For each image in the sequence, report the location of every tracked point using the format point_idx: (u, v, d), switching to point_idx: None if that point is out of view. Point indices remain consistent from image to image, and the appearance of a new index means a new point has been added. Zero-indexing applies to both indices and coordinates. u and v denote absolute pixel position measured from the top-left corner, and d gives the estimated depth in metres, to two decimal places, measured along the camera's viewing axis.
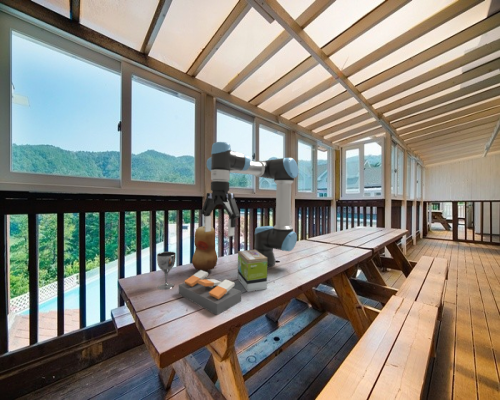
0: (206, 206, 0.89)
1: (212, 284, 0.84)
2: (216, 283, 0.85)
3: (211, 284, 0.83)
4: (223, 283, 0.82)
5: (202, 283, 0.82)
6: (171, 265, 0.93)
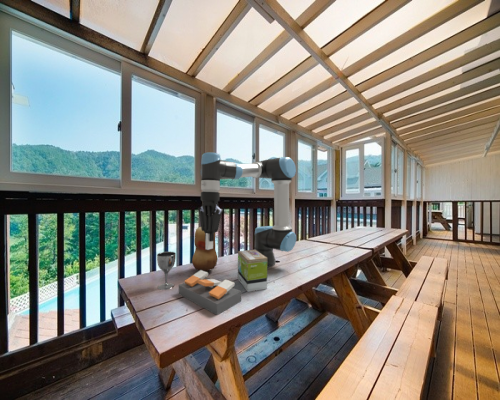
0: (203, 220, 0.87)
1: (212, 284, 0.84)
2: (216, 283, 0.85)
3: (211, 284, 0.83)
4: (223, 283, 0.82)
5: (202, 283, 0.82)
6: (171, 265, 0.93)
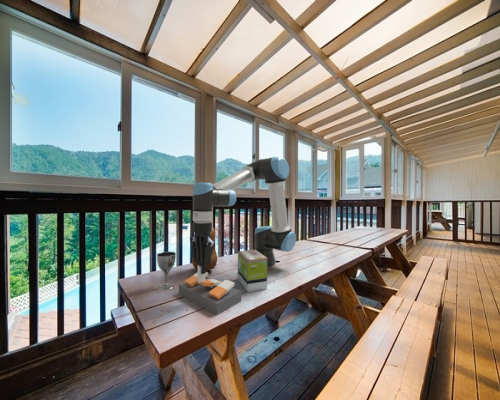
0: (195, 251, 0.84)
1: (212, 284, 0.84)
2: (216, 283, 0.85)
3: (211, 284, 0.83)
4: (223, 283, 0.82)
5: (202, 283, 0.82)
6: (171, 265, 0.93)
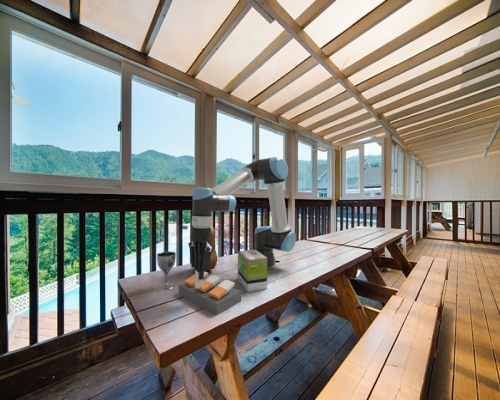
0: (193, 256, 0.83)
1: (211, 285, 0.83)
2: (215, 282, 0.85)
3: (210, 286, 0.83)
4: (223, 283, 0.82)
5: (201, 289, 0.82)
6: (171, 265, 0.93)
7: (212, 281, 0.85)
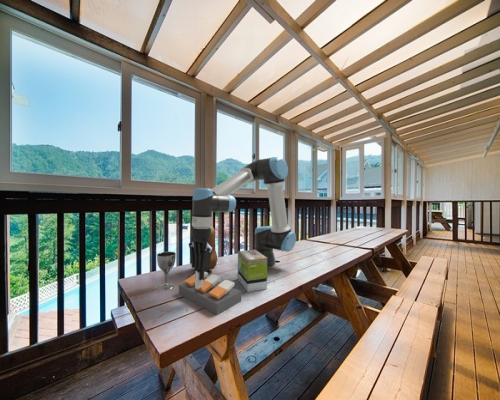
0: (193, 257, 0.83)
1: (211, 286, 0.83)
2: (215, 282, 0.85)
3: (210, 286, 0.83)
4: (223, 283, 0.82)
5: (201, 290, 0.82)
6: (171, 265, 0.93)
7: (212, 281, 0.85)
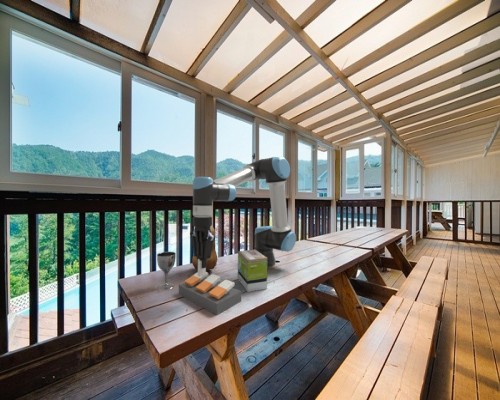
0: (195, 245, 0.84)
1: (211, 286, 0.83)
2: (214, 282, 0.85)
3: (210, 286, 0.83)
4: (223, 283, 0.82)
5: (201, 290, 0.82)
6: (171, 265, 0.93)
7: (212, 281, 0.85)
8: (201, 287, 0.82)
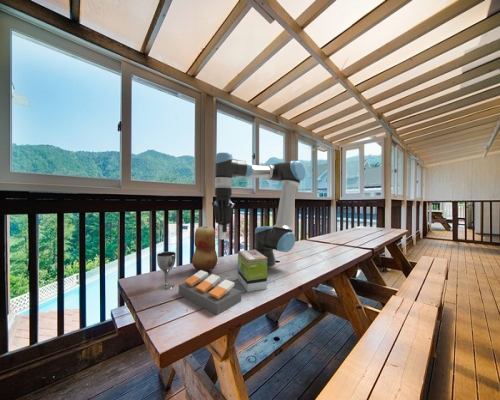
0: (217, 213, 0.96)
1: (211, 286, 0.83)
2: (214, 282, 0.85)
3: (210, 286, 0.83)
4: (223, 283, 0.82)
5: (201, 290, 0.82)
6: (171, 265, 0.93)
7: (212, 281, 0.85)
8: (201, 287, 0.82)
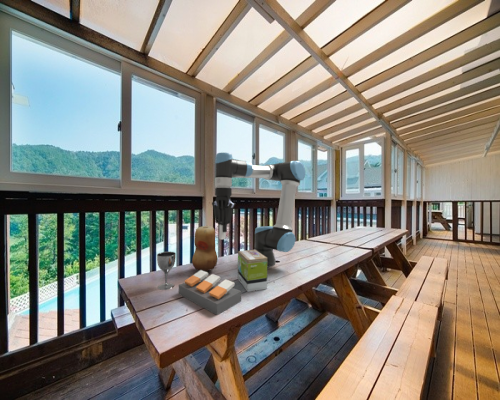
0: (217, 213, 0.96)
1: (211, 286, 0.83)
2: (214, 282, 0.85)
3: (210, 286, 0.83)
4: (223, 283, 0.82)
5: (201, 290, 0.82)
6: (171, 265, 0.93)
7: (212, 281, 0.85)
8: (201, 287, 0.82)
